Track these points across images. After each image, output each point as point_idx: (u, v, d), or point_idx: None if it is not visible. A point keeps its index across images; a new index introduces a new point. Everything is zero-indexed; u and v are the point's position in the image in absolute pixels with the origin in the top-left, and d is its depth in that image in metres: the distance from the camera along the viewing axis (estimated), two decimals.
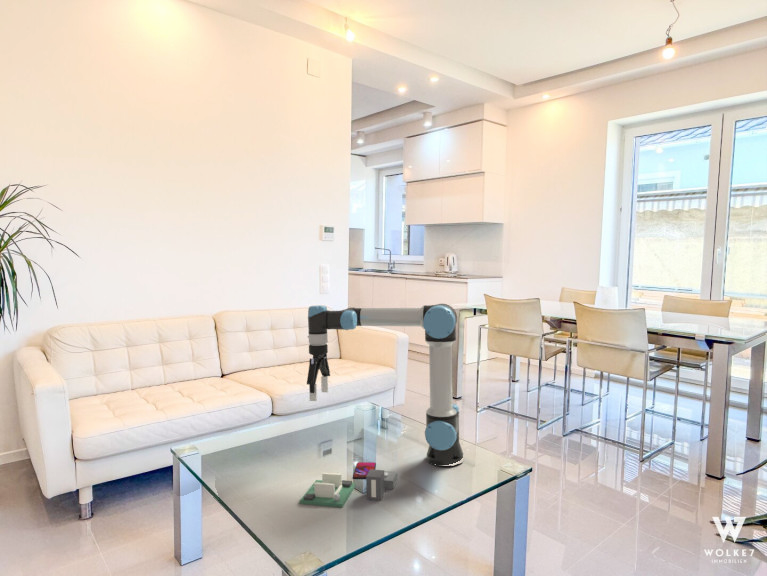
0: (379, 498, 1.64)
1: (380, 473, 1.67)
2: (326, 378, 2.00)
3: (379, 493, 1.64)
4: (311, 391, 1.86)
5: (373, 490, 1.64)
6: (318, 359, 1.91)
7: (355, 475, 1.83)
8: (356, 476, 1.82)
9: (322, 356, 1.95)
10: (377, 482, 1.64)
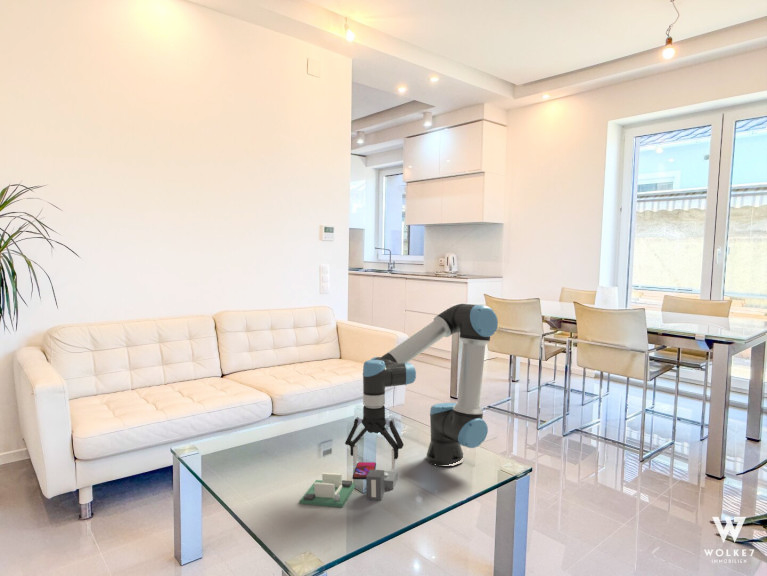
0: (379, 498, 1.64)
1: (380, 473, 1.67)
2: (392, 451, 1.64)
3: (379, 493, 1.64)
4: None
5: (373, 490, 1.64)
6: (365, 422, 1.66)
7: (355, 475, 1.83)
8: (356, 476, 1.82)
9: (378, 422, 1.65)
10: (377, 482, 1.64)
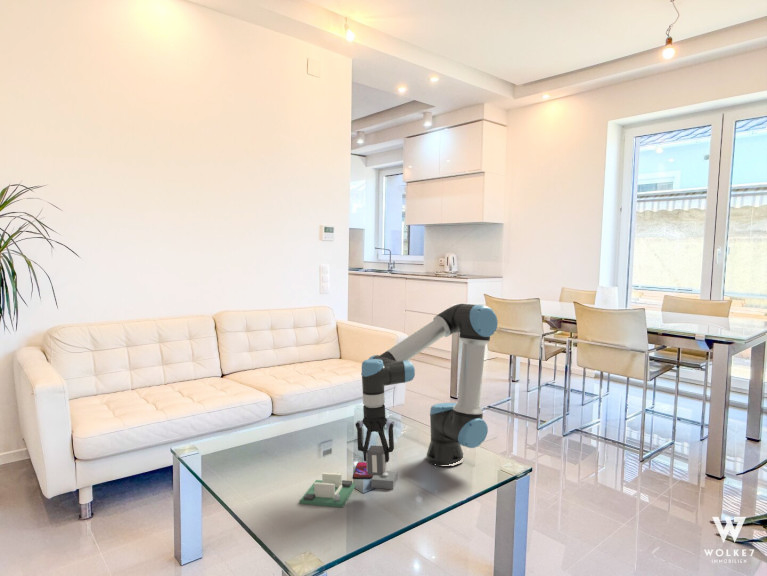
0: (380, 473, 1.64)
1: (380, 448, 1.67)
2: None
3: (380, 468, 1.64)
4: None
5: (374, 465, 1.64)
6: (365, 421, 1.66)
7: (355, 475, 1.83)
8: (356, 476, 1.82)
9: (379, 419, 1.65)
10: (378, 458, 1.64)
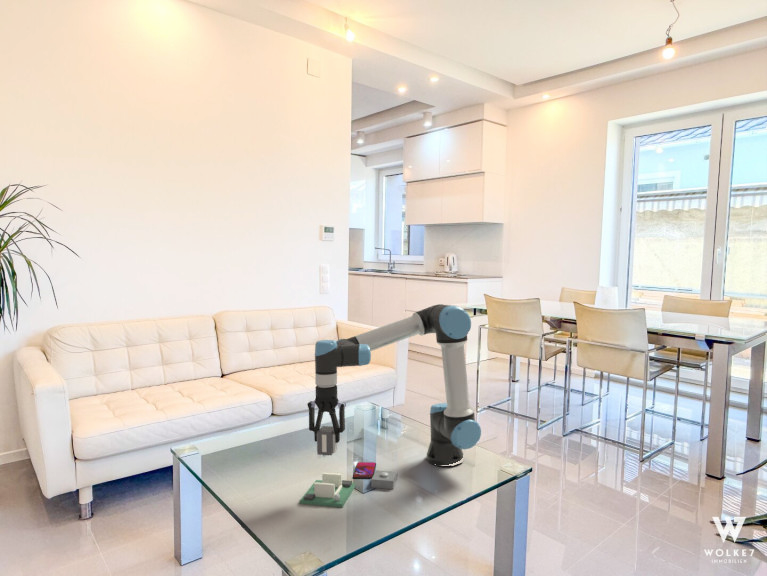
0: (329, 453, 1.65)
1: (331, 429, 1.68)
2: (333, 435, 1.67)
3: (329, 448, 1.65)
4: None
5: (324, 445, 1.65)
6: (317, 401, 1.67)
7: (355, 475, 1.83)
8: (356, 476, 1.82)
9: (331, 399, 1.66)
10: (328, 437, 1.65)
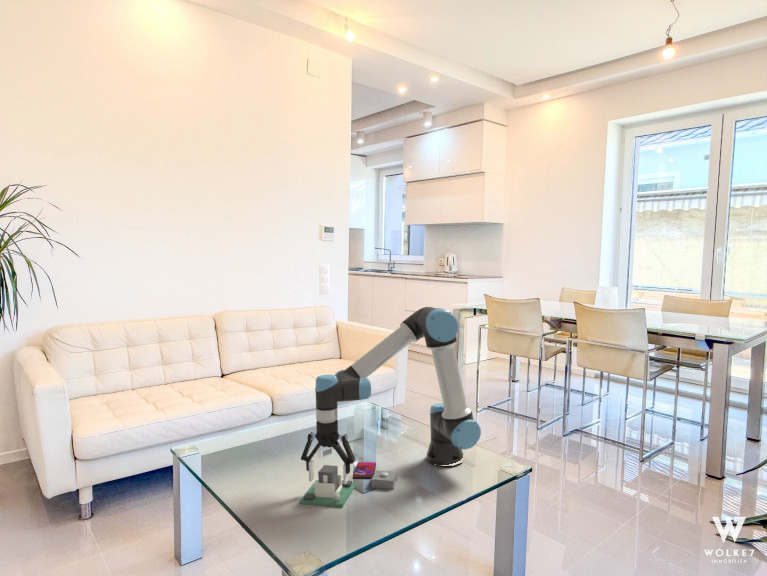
0: None
1: (332, 469, 1.68)
2: None
3: None
4: None
5: None
6: (318, 436, 1.68)
7: (355, 475, 1.83)
8: (356, 476, 1.82)
9: (331, 436, 1.67)
10: (329, 478, 1.65)
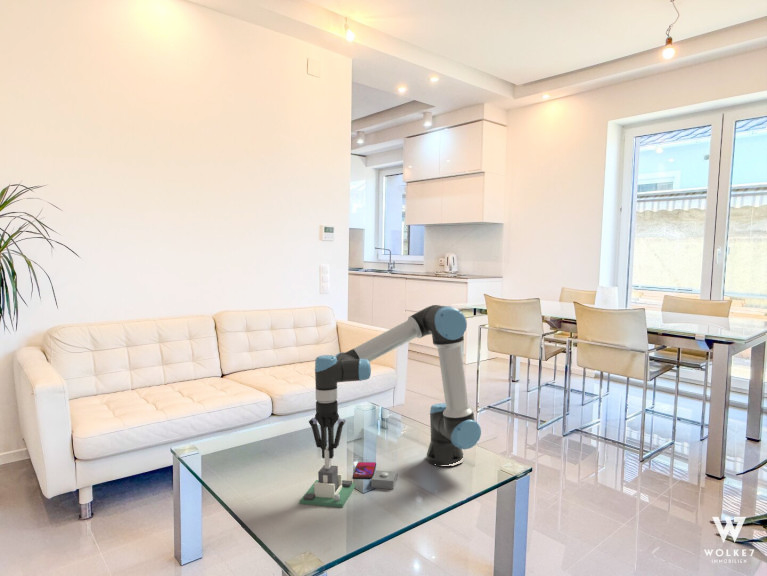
0: None
1: (332, 469, 1.68)
2: None
3: None
4: None
5: None
6: (317, 416, 1.68)
7: (355, 475, 1.83)
8: (356, 476, 1.82)
9: (332, 414, 1.66)
10: (329, 478, 1.65)
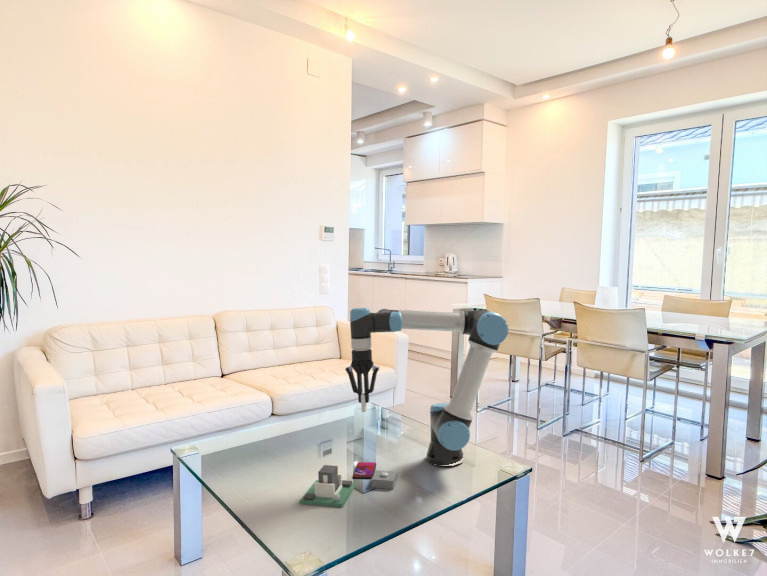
0: None
1: (332, 469, 1.68)
2: None
3: None
4: None
5: None
6: (353, 364, 1.81)
7: (355, 475, 1.83)
8: (356, 476, 1.82)
9: (367, 361, 1.80)
10: (329, 478, 1.65)
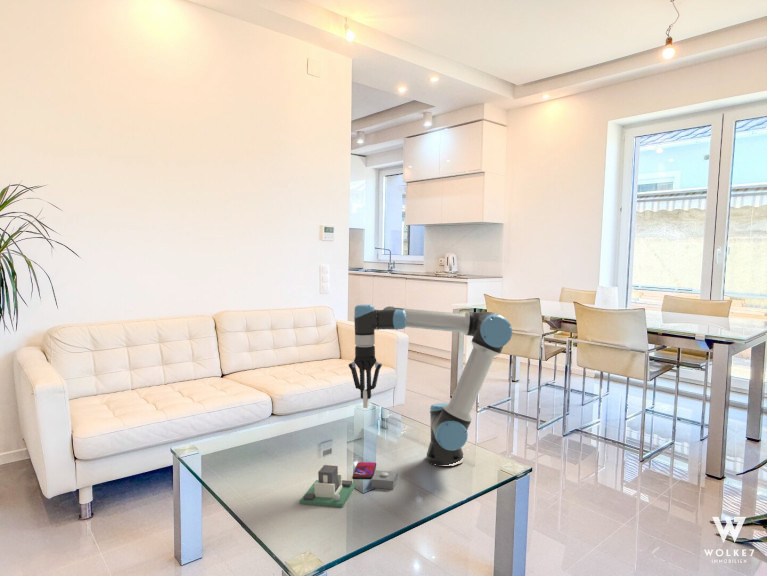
0: None
1: (332, 469, 1.68)
2: None
3: None
4: None
5: None
6: (356, 360, 1.83)
7: (355, 475, 1.83)
8: (356, 476, 1.82)
9: (370, 358, 1.81)
10: (329, 478, 1.65)
